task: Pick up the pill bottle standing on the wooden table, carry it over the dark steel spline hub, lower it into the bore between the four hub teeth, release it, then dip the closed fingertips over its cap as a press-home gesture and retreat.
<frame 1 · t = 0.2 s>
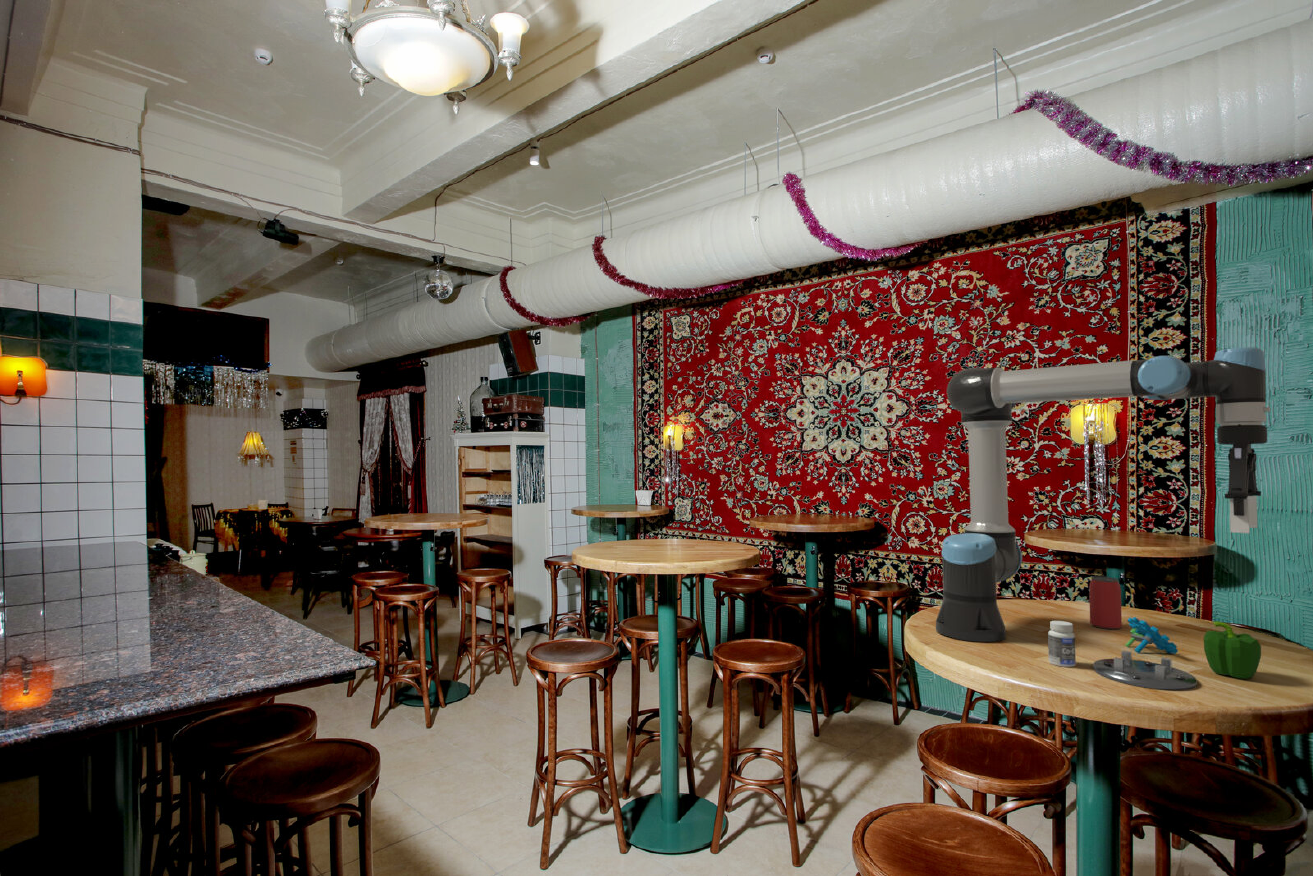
hand: (1244, 530, 131), 28 cm above the table, fingers open, 13 cm apart
bell pepper: (1232, 676, 126), on the table
pill bottle: (1062, 664, 133), on the table
hub: (1143, 675, 126), on the table
gear: (1150, 653, 141), on the table
beer can: (1105, 627, 162), on the table
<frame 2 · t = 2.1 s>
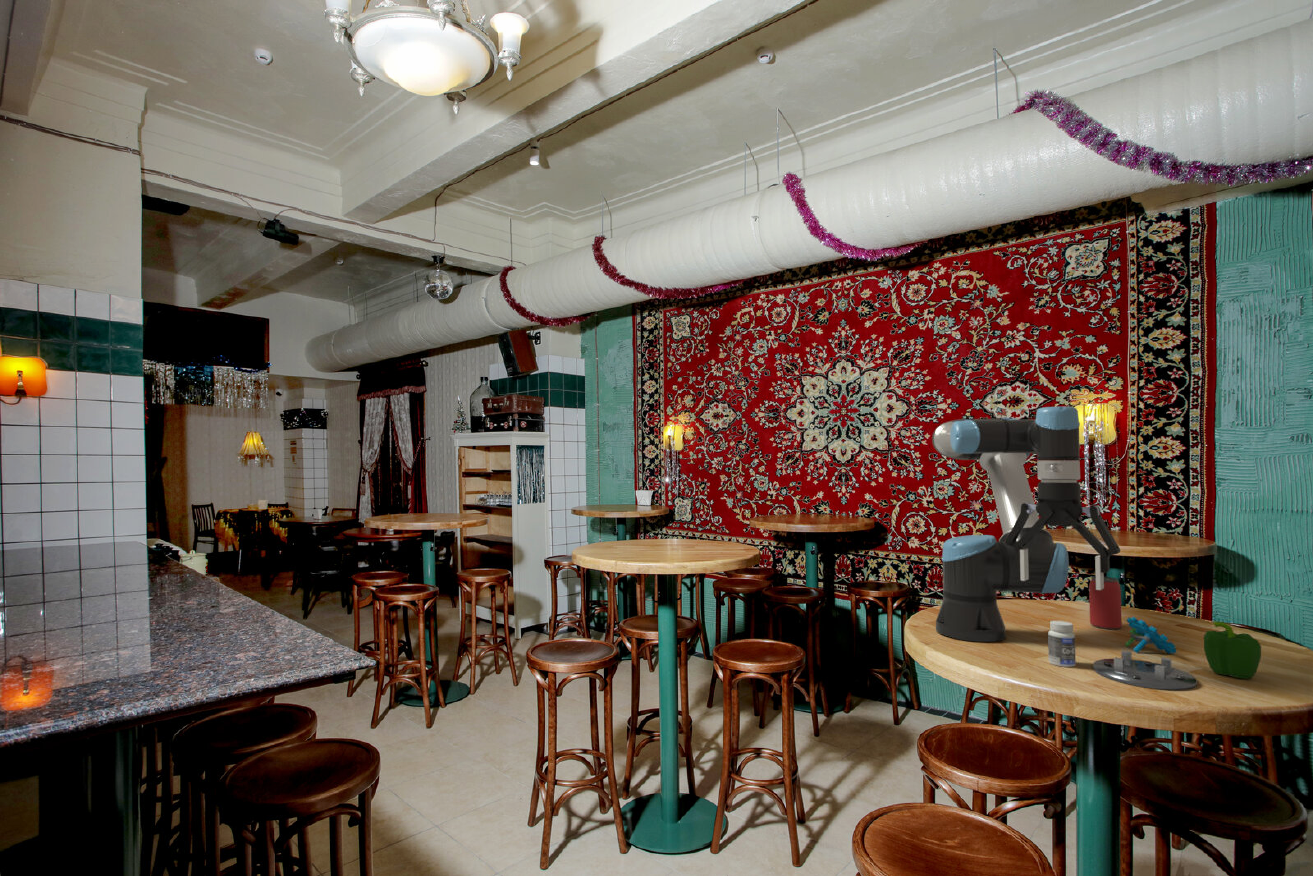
hand: (1060, 584, 134), 16 cm above the table, fingers open, 13 cm apart
nothing on the table moved.
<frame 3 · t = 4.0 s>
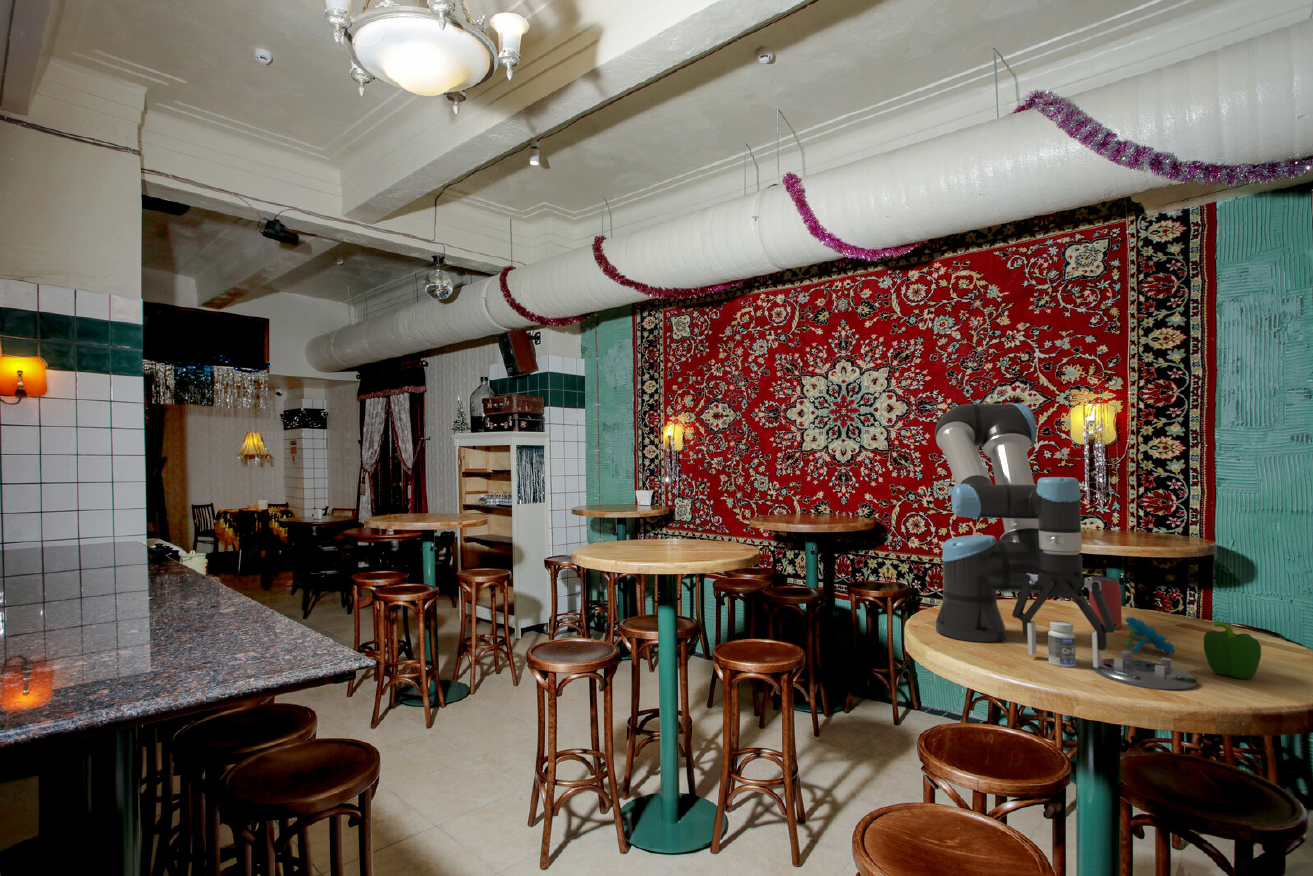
hand: (1063, 659, 133), 1 cm above the table, fingers open, 11 cm apart
nothing on the table moved.
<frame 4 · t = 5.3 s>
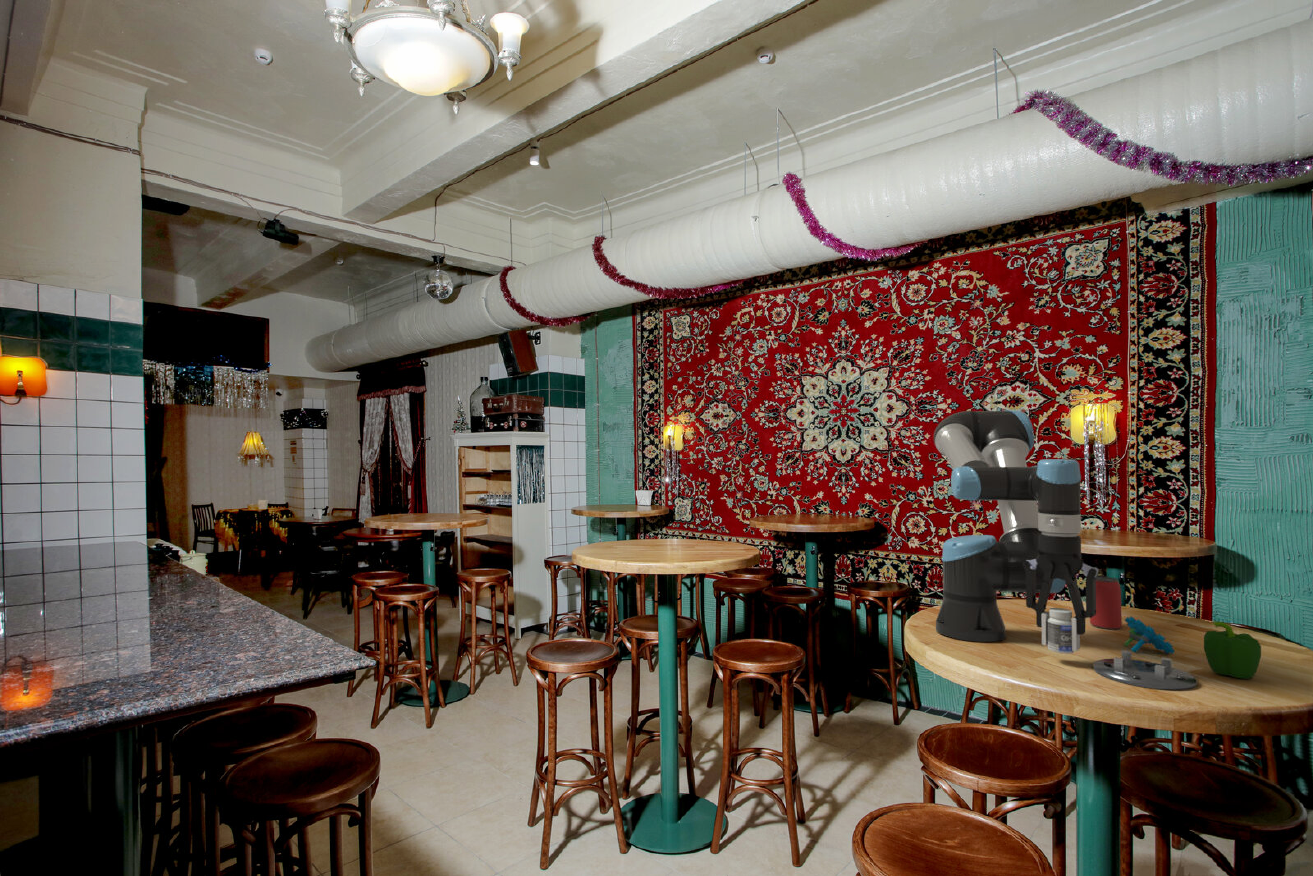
hand: (1060, 646, 134), 3 cm above the table, fingers closed on pill bottle, 5 cm apart
pill bottle: (1060, 651, 134), point 2 cm above the table, touching gripper
everything else where it was.
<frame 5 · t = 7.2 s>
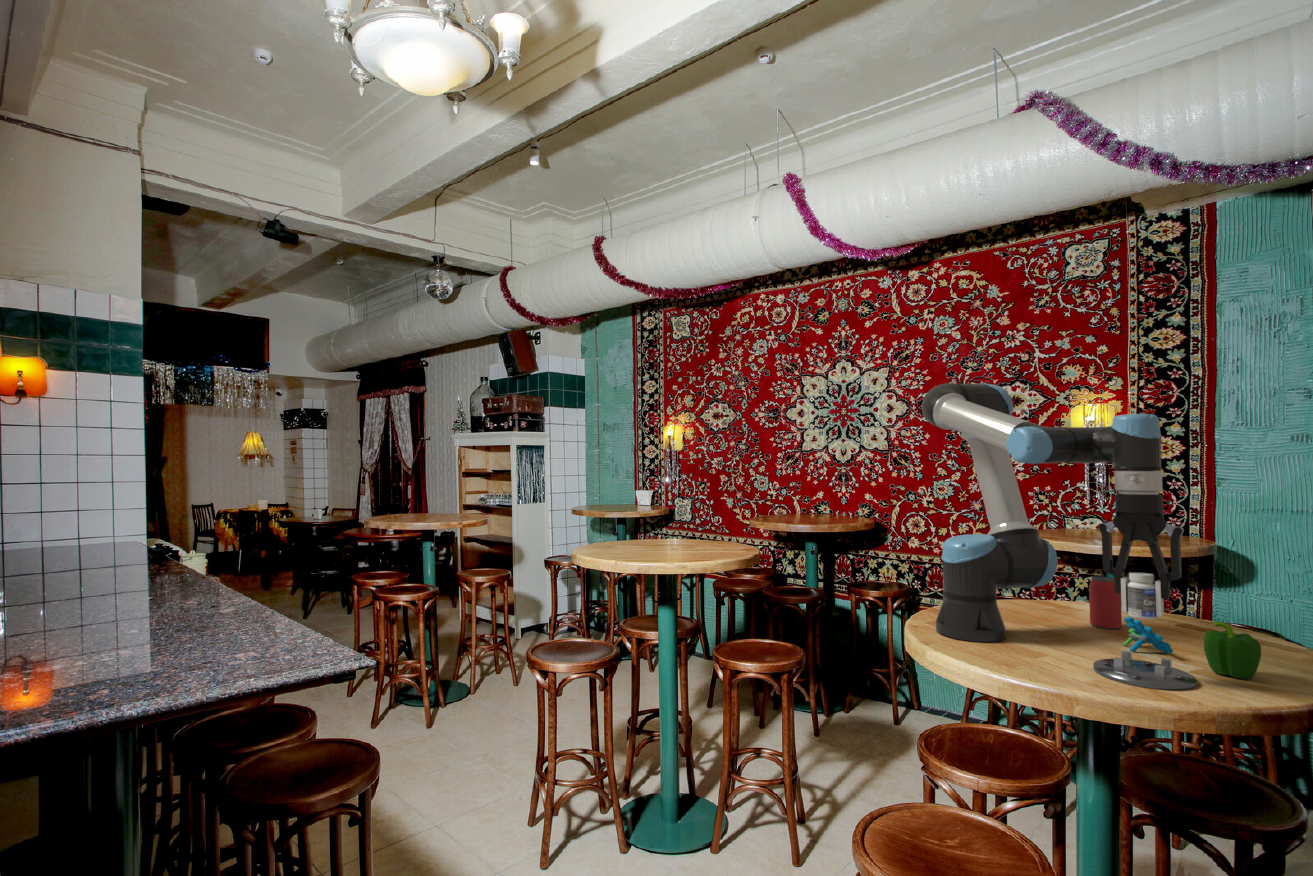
hand: (1142, 612, 126), 12 cm above the table, fingers closed on pill bottle, 5 cm apart
pill bottle: (1142, 618, 126), point 11 cm above the table, touching gripper
everything else where it was.
when the fingers open (2 cm above the table, at t = 9.1 s): pill bottle stays where it is, resting on hub.
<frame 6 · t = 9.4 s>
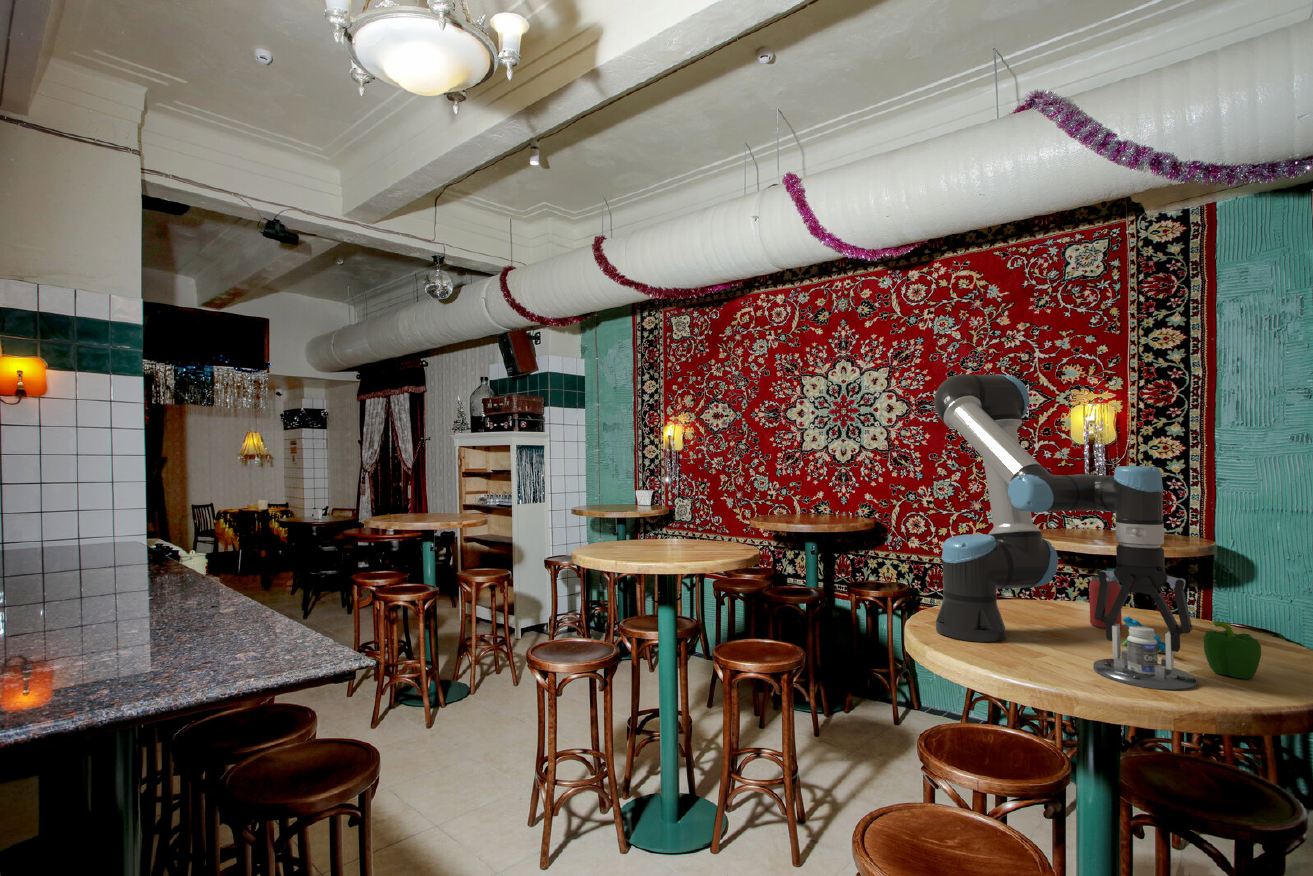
hand: (1142, 662, 126), 2 cm above the table, fingers open, 8 cm apart
pill bottle: (1142, 672, 126), point 1 cm above the table, touching hub
everything else where it was.
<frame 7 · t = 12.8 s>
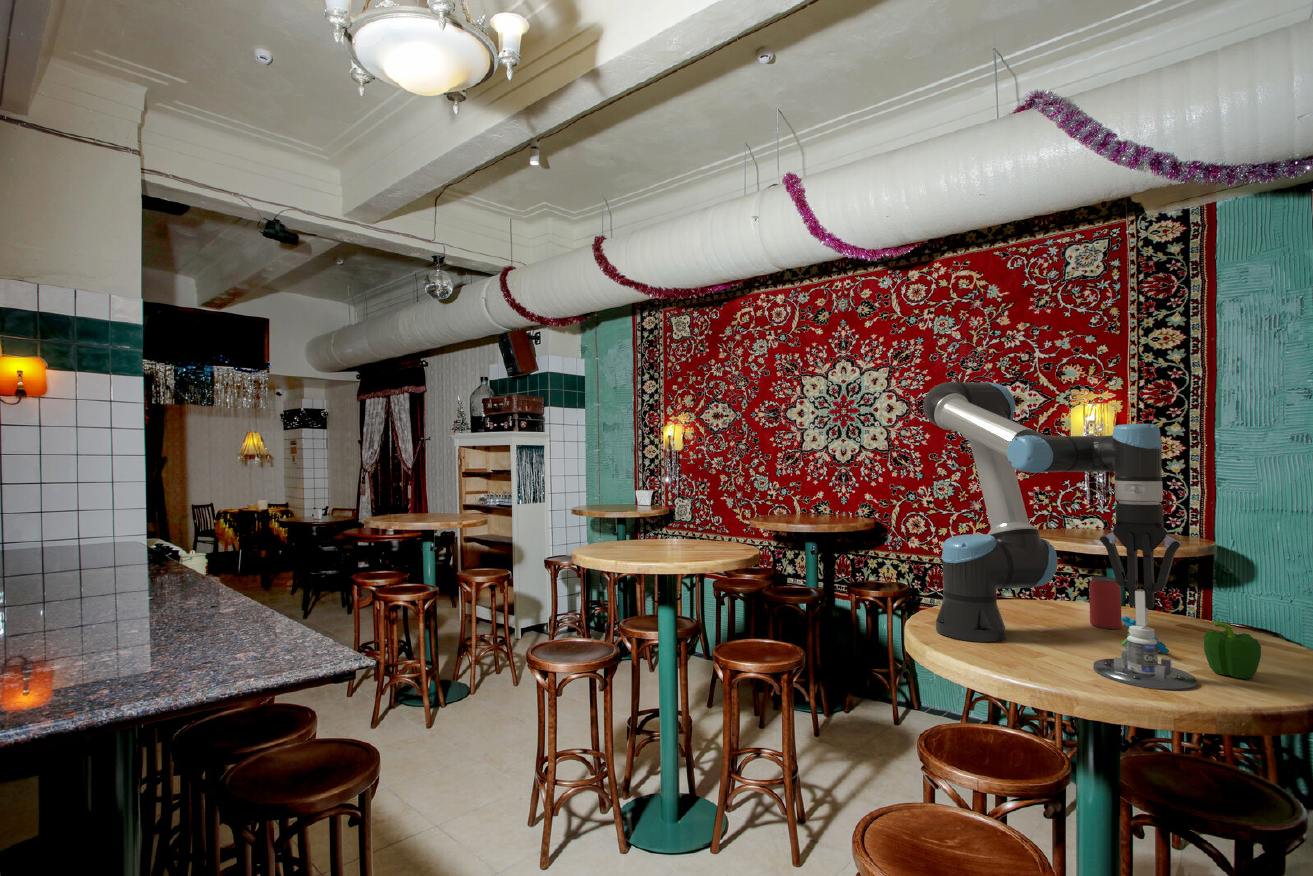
hand: (1142, 624, 126), 10 cm above the table, fingers closed
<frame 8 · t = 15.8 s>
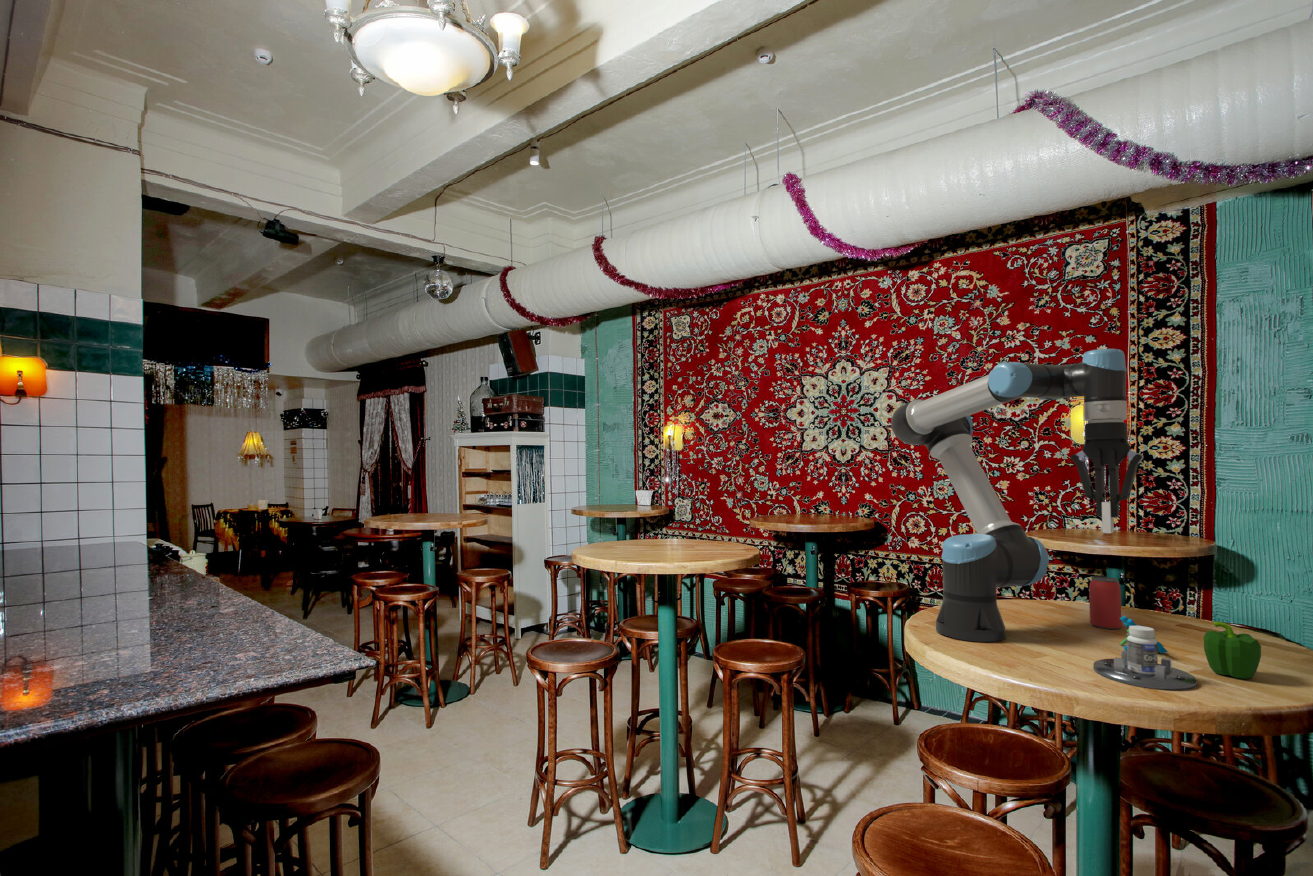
hand: (1108, 532, 138), 26 cm above the table, fingers closed
at the end: pill bottle 0.0 cm from the hub (horizontally); pill bottle tilted 0°; the gripper is holding nothing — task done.
